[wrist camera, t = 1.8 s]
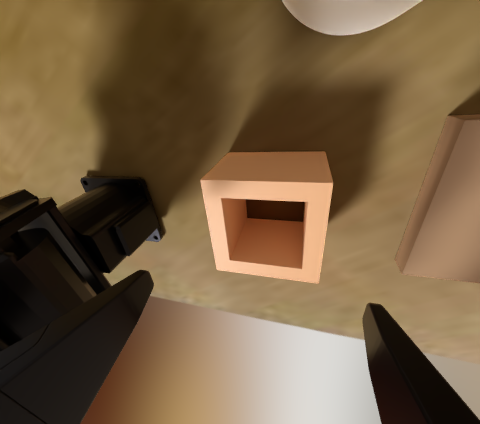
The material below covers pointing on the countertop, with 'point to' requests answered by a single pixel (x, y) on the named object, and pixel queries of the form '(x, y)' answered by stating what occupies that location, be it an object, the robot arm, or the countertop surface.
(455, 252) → the post stand
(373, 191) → the countertop surface
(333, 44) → the countertop surface
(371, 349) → the robot arm
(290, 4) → the beverage can
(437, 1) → the countertop surface
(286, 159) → the collar
